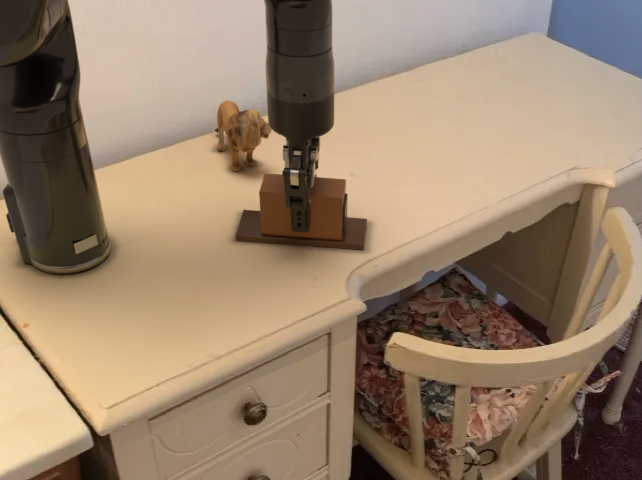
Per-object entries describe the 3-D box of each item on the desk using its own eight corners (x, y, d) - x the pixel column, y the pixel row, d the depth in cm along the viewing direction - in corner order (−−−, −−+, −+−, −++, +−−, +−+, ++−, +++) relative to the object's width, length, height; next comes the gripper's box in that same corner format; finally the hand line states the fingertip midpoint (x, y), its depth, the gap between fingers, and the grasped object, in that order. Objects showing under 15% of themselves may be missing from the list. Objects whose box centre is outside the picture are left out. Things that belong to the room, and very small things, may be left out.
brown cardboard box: (344, 240, 103) (345, 198, 99) (261, 234, 103) (259, 191, 99) (347, 221, 107) (348, 179, 102) (267, 215, 107) (265, 172, 103)
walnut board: (235, 240, 104) (235, 235, 103) (243, 214, 108) (243, 209, 107) (363, 250, 104) (364, 244, 103) (367, 223, 108) (367, 218, 107)
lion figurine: (278, 174, 116) (276, 112, 110) (243, 183, 113) (239, 121, 107) (231, 130, 124) (226, 70, 118) (198, 138, 122) (191, 77, 116)
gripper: (327, 116, 87) (327, 253, 99) (340, 62, 98) (338, 192, 109) (255, 111, 87) (264, 249, 99) (276, 57, 98) (281, 188, 109)
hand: (303, 218), depth 104 cm, fingers closed on brown cardboard box, 4 cm apart
